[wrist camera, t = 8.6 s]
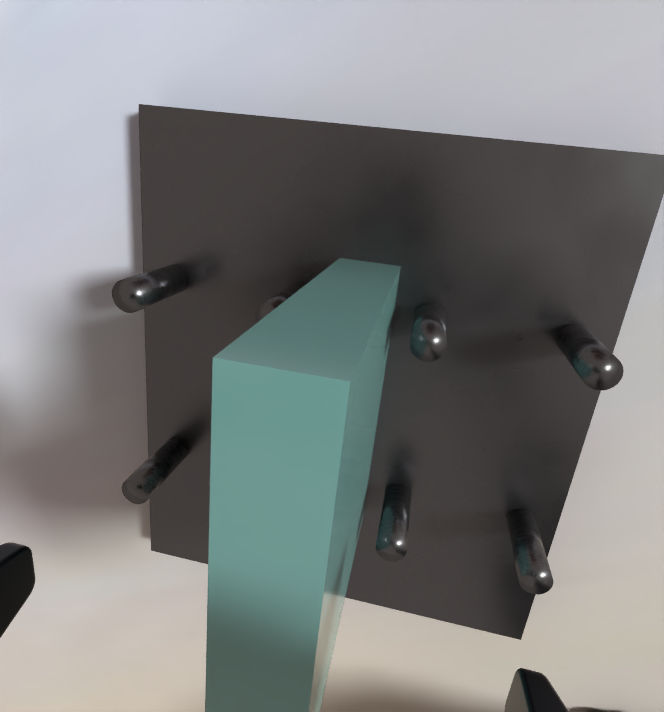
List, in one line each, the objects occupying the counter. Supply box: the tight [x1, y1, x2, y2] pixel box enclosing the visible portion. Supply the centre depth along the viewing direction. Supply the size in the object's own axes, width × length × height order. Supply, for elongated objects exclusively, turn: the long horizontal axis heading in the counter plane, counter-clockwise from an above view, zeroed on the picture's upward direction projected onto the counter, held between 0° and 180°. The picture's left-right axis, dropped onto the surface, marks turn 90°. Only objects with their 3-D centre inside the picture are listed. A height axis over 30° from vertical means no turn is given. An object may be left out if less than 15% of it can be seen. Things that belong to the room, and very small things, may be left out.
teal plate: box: [205, 258, 401, 712], centre depth 13 cm, size 10×2×10 cm, turn 174°
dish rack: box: [112, 104, 664, 640], centre depth 17 cm, size 18×16×4 cm
